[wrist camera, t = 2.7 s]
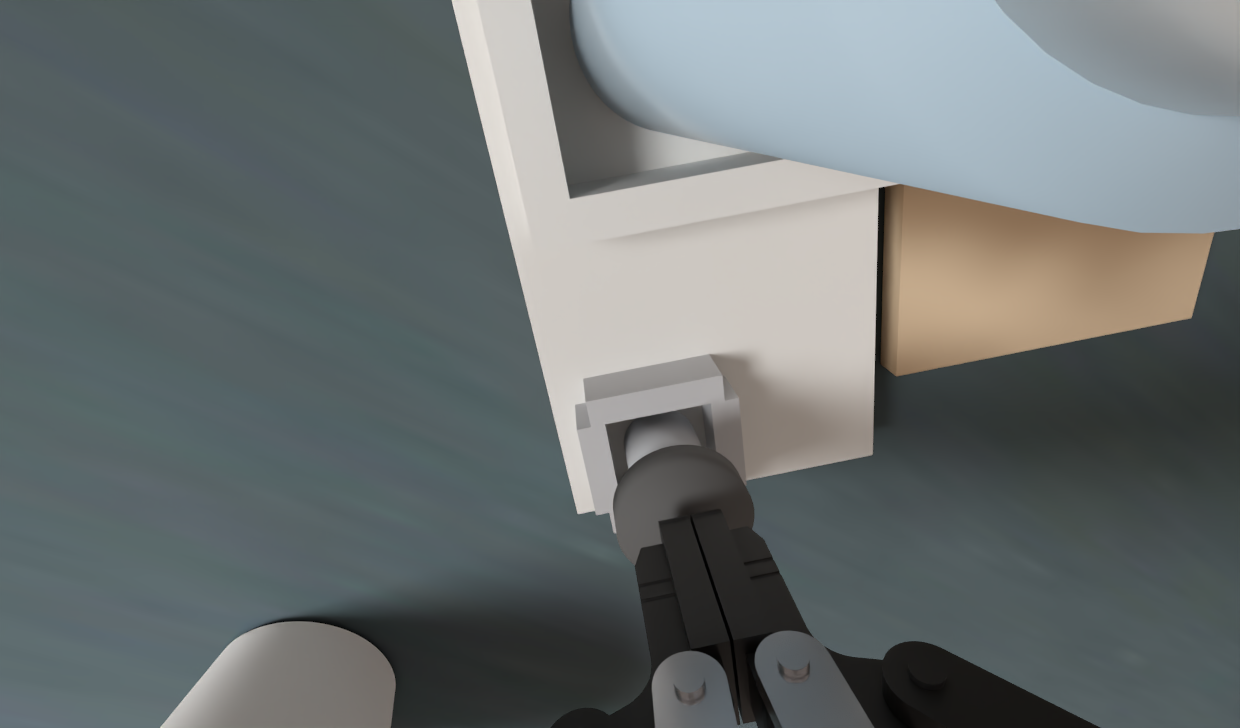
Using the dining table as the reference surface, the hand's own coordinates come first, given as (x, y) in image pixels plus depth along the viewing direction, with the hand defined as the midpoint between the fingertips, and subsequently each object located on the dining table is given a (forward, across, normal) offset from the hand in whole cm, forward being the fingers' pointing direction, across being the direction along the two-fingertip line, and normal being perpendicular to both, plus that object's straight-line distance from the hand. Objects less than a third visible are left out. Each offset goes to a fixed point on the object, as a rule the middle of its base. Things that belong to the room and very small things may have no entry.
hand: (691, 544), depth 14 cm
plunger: (+4, 0, 0) cm, 4 cm away
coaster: (+6, -13, -5) cm, 15 cm away
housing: (+6, -2, -7) cm, 9 cm away
